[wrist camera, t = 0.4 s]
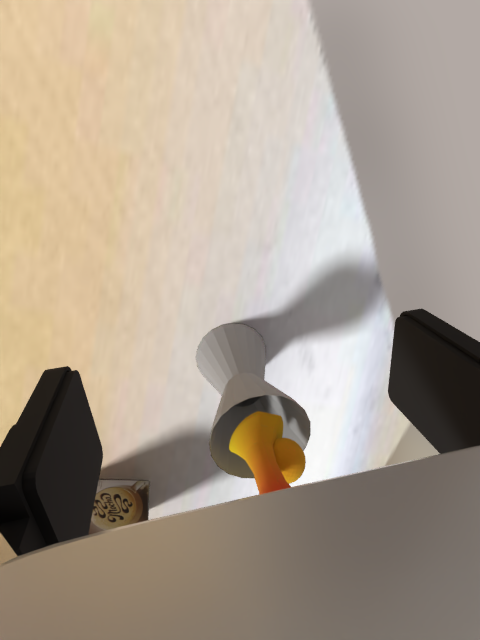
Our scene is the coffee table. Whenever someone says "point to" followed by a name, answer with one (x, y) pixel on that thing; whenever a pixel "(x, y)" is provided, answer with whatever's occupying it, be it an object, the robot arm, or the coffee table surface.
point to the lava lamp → (251, 411)
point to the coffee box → (119, 504)
